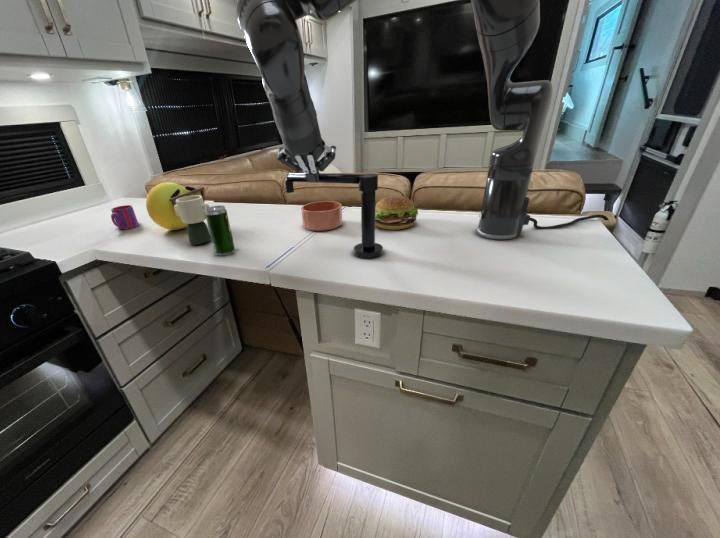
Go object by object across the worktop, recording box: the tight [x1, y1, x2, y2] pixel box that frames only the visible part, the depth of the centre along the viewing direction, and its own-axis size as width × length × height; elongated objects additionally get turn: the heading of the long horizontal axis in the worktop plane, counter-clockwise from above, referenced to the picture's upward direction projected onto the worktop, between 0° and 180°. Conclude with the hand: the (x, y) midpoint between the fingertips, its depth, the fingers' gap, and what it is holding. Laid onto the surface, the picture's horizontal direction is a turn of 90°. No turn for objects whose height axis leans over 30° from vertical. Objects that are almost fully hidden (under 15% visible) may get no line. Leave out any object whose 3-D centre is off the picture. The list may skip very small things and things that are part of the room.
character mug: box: [174, 195, 212, 245], centre depth 94 cm, size 11×7×13 cm, turn 79°
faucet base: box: [353, 191, 384, 260], centre depth 77 cm, size 7×7×15 cm
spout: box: [284, 172, 379, 194], centre depth 77 cm, size 24×4×4 cm, turn 62°
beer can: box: [205, 204, 236, 257], centre depth 86 cm, size 5×5×12 cm
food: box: [375, 195, 419, 231], centre depth 97 cm, size 14×14×8 cm
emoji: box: [145, 181, 206, 231], centre depth 108 cm, size 16×16×15 cm
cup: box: [110, 204, 140, 230], centre depth 116 cm, size 7×10×7 cm
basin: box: [300, 200, 343, 232], centre depth 101 cm, size 12×12×6 cm
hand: (314, 179), depth 77 cm, fingers closed
